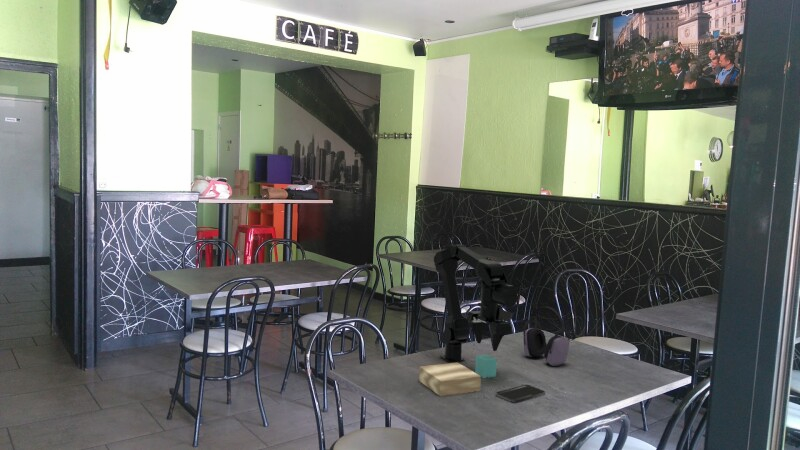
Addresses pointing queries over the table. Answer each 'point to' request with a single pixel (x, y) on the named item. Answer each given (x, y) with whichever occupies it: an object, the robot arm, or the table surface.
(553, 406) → the table surface
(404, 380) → the table surface
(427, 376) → the oak box
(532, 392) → the phone
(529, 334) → the headphones
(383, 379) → the table surface
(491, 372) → the teal cube
